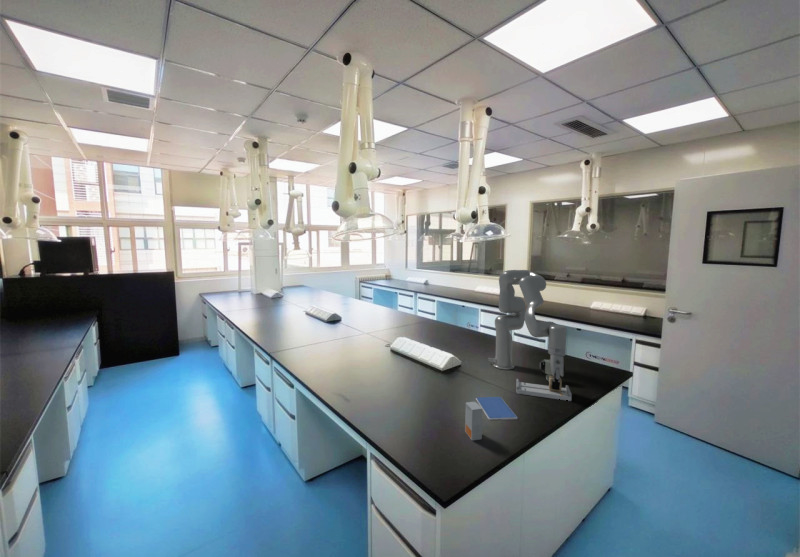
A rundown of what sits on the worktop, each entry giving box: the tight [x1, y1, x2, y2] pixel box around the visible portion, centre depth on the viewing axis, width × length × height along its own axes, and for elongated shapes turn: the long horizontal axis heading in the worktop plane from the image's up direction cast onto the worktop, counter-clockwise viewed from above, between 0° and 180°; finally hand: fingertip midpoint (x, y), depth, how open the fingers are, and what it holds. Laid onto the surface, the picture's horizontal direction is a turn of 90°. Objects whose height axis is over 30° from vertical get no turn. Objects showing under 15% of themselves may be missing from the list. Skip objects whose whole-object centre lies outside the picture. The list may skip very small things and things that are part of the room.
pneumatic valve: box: [539, 358, 566, 382], centre depth 170 cm, size 6×12×12 cm, turn 76°
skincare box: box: [464, 401, 483, 441], centre depth 118 cm, size 6×4×12 cm
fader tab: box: [548, 376, 563, 392], centre depth 153 cm, size 5×4×6 cm
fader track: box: [515, 378, 573, 402], centre depth 155 cm, size 24×10×4 cm, turn 71°
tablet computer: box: [475, 396, 519, 421], centre depth 140 cm, size 19×13×1 cm, turn 3°
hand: (555, 387), depth 153 cm, fingers closed on fader tab, 3 cm apart
